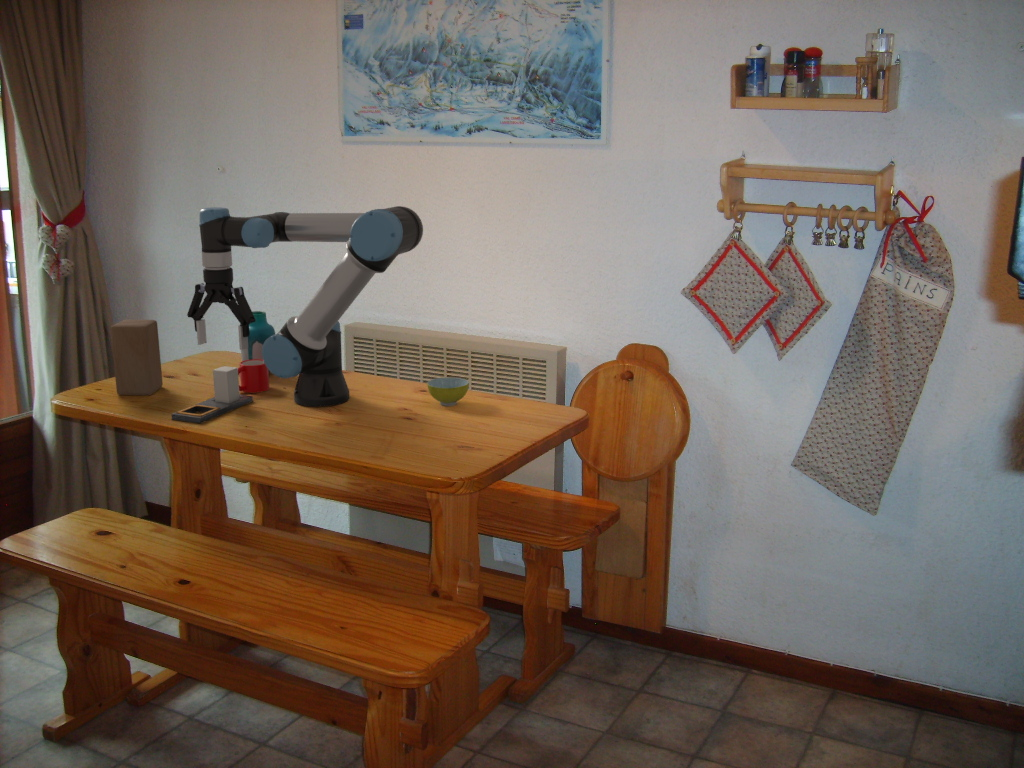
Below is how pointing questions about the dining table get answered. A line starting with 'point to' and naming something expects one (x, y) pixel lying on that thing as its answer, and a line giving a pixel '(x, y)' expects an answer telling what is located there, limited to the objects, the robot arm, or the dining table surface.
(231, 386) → the peg
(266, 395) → the dining table surface
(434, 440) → the dining table surface
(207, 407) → the grey slotted plate
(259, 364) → the mug
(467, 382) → the bowl
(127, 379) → the block
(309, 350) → the robot arm
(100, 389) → the dining table surface
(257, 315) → the vase
